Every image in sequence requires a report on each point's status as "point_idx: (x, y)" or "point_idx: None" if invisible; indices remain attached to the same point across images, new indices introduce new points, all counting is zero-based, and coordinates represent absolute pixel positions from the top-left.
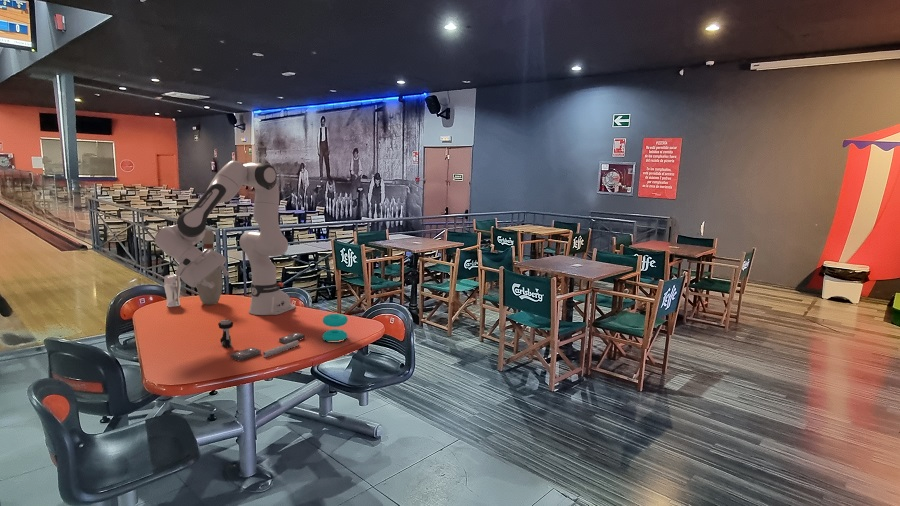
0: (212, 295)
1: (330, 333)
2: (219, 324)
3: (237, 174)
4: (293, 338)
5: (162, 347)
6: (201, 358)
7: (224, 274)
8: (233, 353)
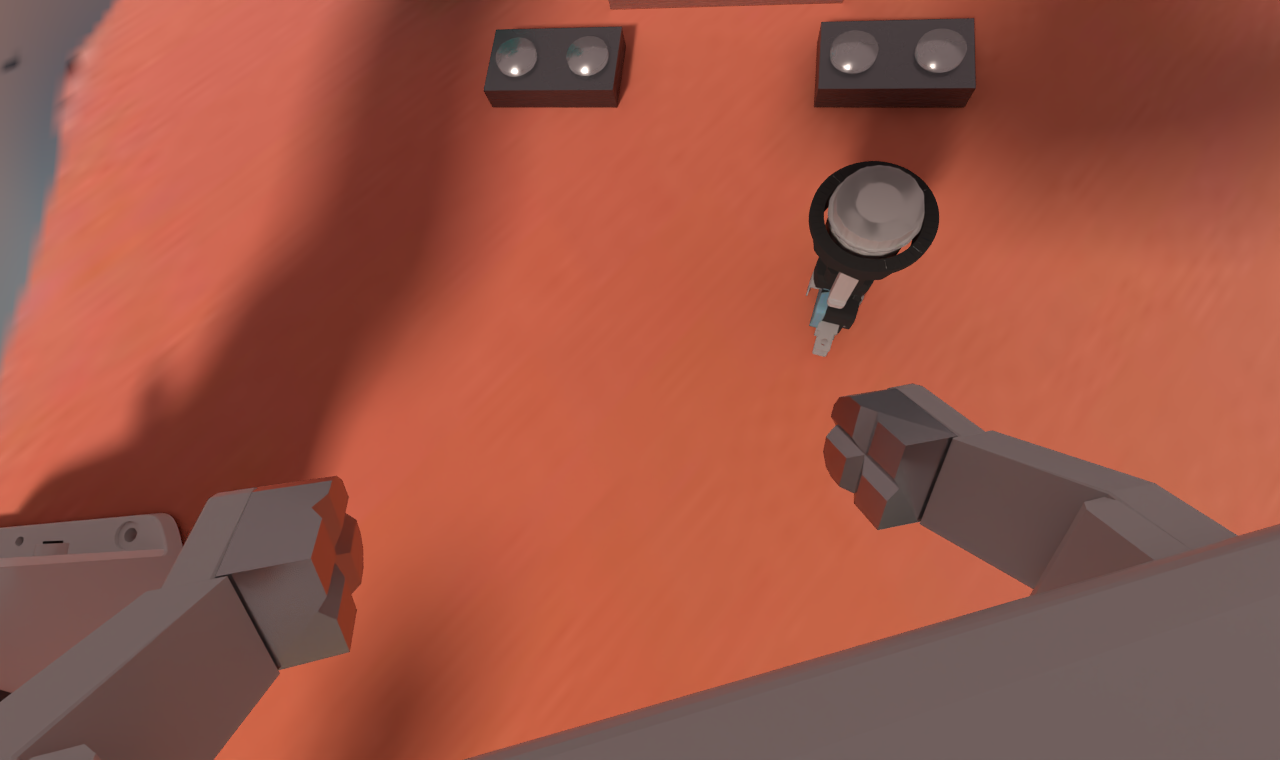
0: None
1: None
2: (931, 225)
3: None
4: (576, 31)
5: None
6: (1079, 231)
7: (339, 579)
8: (957, 86)
